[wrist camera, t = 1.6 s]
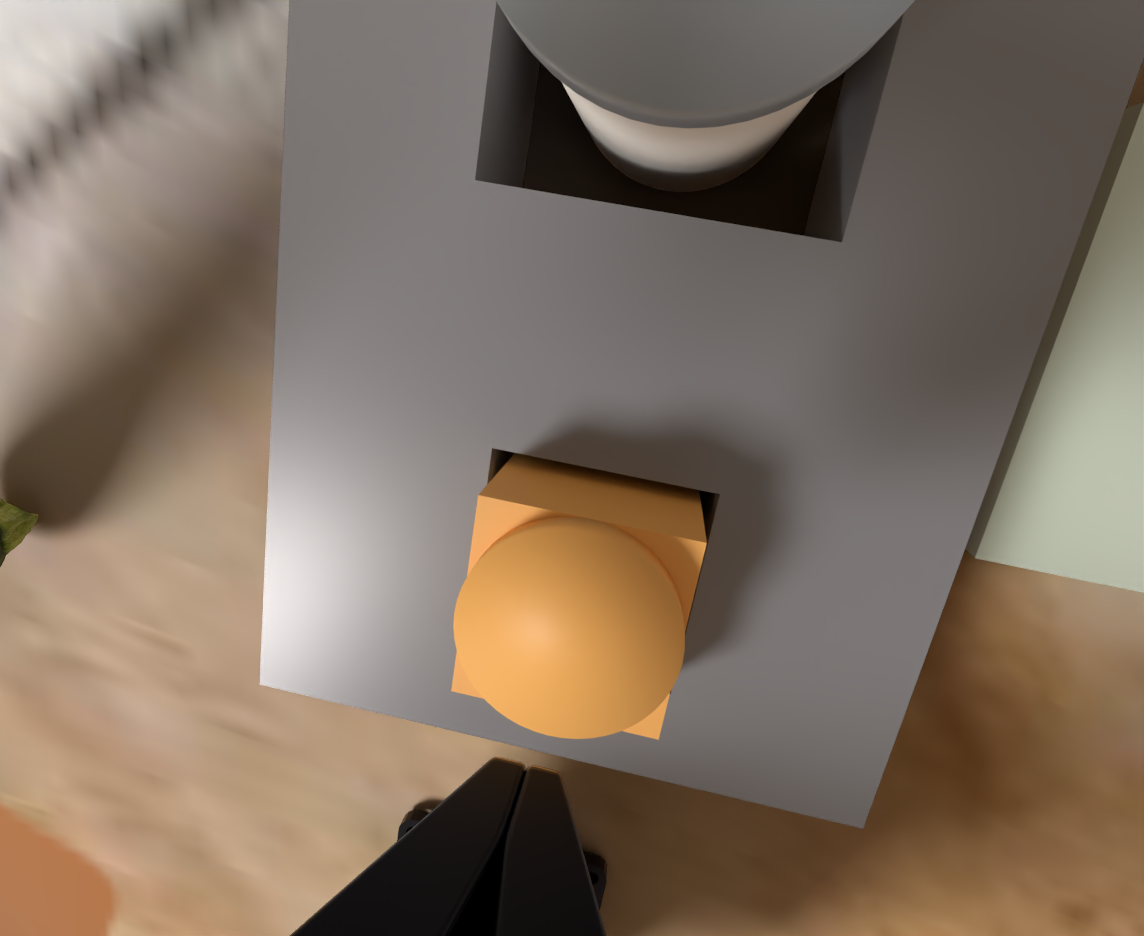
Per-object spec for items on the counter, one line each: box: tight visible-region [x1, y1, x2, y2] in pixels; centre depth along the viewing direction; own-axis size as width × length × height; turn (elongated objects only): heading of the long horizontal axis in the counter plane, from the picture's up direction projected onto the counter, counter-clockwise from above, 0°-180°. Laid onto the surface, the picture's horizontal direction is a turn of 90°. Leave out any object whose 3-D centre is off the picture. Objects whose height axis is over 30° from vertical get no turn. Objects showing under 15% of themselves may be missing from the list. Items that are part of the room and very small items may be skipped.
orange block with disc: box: [451, 453, 707, 740], centre depth 14 cm, size 4×4×5 cm
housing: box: [260, 0, 1144, 829], centre depth 15 cm, size 20×14×4 cm
